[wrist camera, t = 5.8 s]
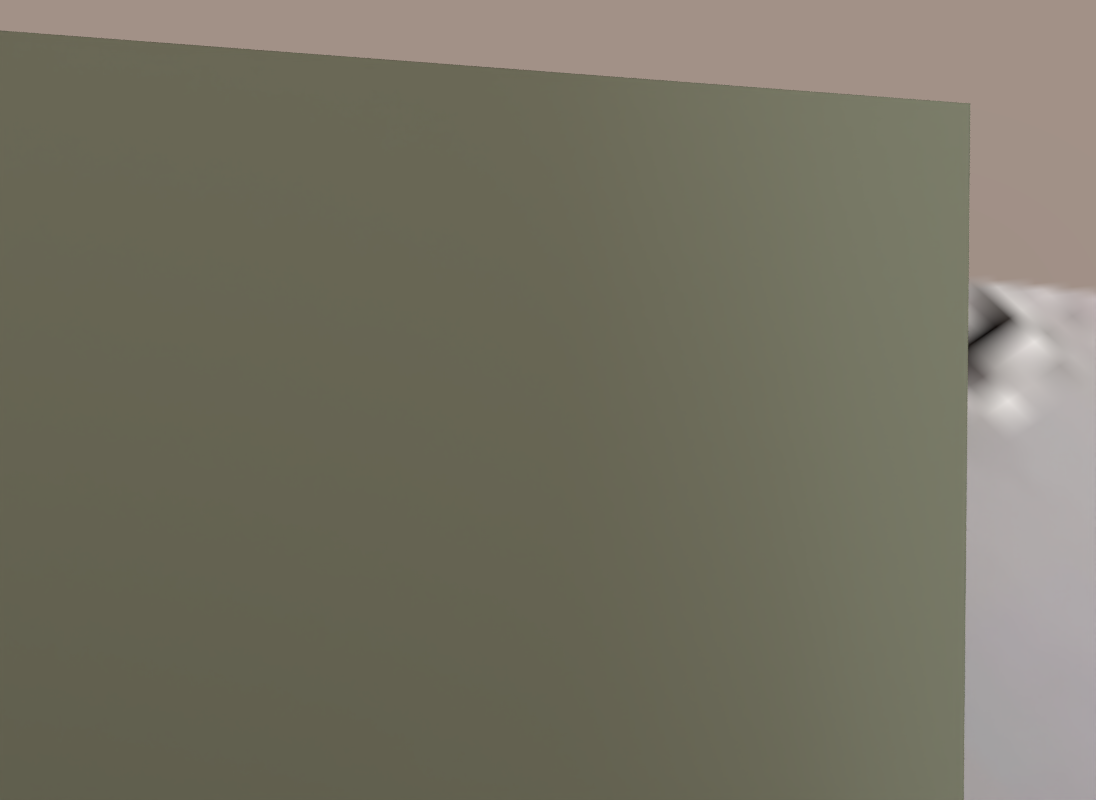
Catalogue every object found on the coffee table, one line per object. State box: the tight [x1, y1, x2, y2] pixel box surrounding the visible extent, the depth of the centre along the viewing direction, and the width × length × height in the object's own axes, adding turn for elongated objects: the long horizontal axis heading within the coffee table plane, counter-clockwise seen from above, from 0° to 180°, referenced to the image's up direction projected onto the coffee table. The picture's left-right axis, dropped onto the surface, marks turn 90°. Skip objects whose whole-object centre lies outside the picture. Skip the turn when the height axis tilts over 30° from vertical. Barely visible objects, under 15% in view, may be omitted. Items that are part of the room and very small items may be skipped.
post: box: [0, 31, 970, 800], centre depth 9 cm, size 5×5×13 cm
